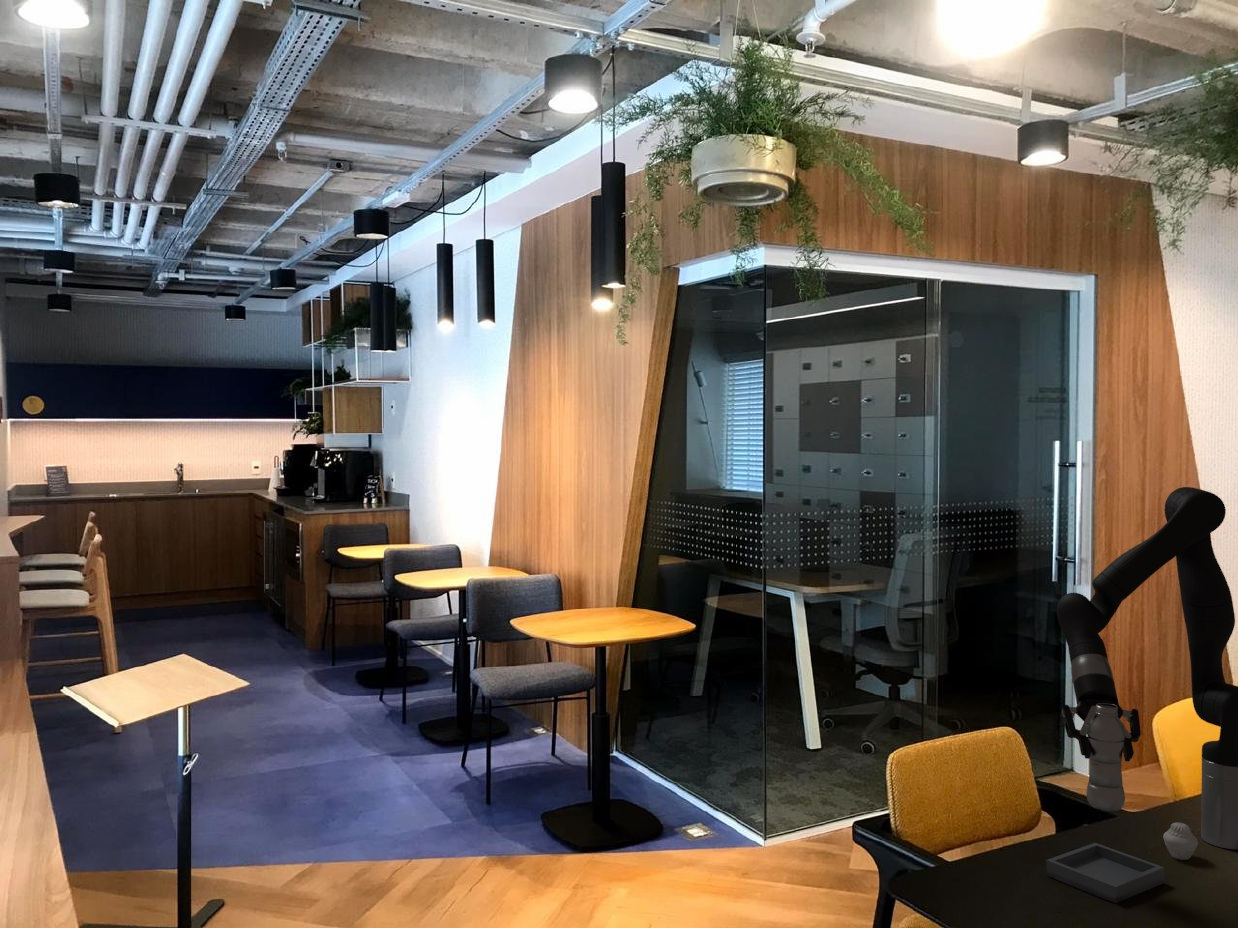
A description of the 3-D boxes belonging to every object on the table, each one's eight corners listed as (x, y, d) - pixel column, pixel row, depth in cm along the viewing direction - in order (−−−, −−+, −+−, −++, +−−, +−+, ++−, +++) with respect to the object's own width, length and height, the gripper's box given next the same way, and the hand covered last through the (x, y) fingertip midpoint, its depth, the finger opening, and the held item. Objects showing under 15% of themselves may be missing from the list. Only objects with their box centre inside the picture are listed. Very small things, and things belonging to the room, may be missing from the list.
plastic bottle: (1129, 816, 185) (1131, 710, 185) (1090, 813, 186) (1092, 708, 186) (1119, 804, 191) (1120, 702, 191) (1081, 801, 193) (1083, 700, 192)
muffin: (1157, 855, 200) (1157, 821, 200) (1171, 848, 204) (1171, 814, 204) (1189, 865, 195) (1189, 830, 195) (1203, 858, 199) (1203, 823, 199)
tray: (1095, 857, 199) (1095, 842, 199) (1164, 882, 187) (1164, 867, 187) (1046, 875, 191) (1046, 859, 191) (1115, 903, 179) (1115, 886, 179)
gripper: (1058, 669, 197) (1070, 745, 186) (1136, 673, 194) (1154, 751, 183) (1052, 689, 203) (1064, 764, 191) (1128, 693, 200) (1145, 770, 188)
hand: (1108, 757), depth 187 cm, fingers closed on plastic bottle, 6 cm apart
